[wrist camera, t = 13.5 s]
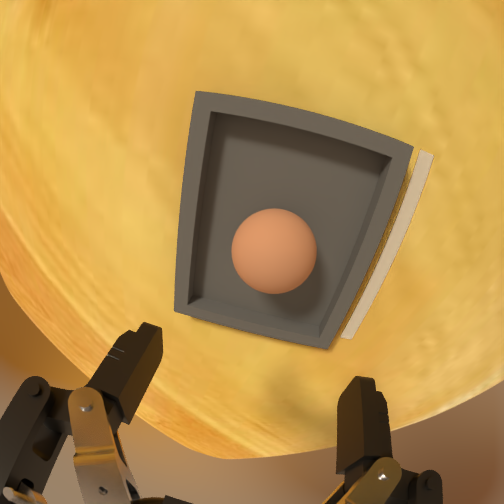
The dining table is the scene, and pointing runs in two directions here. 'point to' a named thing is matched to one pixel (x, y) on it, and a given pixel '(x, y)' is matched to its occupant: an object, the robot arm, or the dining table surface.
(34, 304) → the dining table surface
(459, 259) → the dining table surface
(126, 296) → the dining table surface
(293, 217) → the ball
